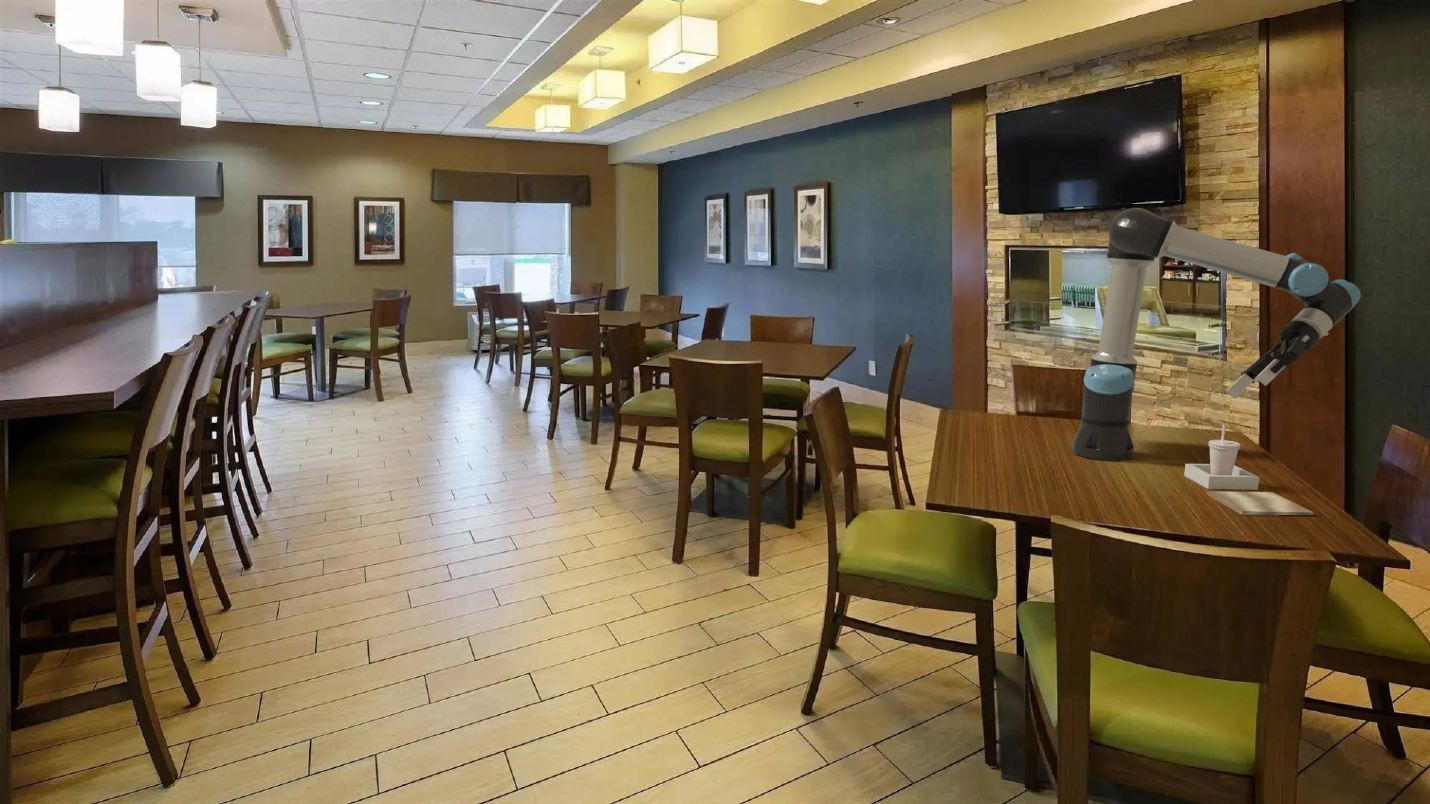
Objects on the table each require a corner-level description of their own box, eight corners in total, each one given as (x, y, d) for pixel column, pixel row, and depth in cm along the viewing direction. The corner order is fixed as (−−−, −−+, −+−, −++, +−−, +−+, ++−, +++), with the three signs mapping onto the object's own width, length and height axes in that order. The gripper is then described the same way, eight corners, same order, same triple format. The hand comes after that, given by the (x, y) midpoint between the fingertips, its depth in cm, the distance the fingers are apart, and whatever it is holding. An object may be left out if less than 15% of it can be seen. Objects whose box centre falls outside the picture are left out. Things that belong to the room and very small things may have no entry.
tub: (1207, 488, 187) (1209, 476, 186) (1184, 475, 197) (1185, 463, 197) (1257, 489, 186) (1259, 477, 185) (1231, 476, 197) (1232, 464, 196)
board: (1242, 514, 169) (1242, 511, 168) (1206, 494, 182) (1207, 491, 182) (1312, 516, 168) (1313, 512, 167) (1271, 495, 181) (1272, 492, 181)
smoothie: (1198, 479, 194) (1204, 422, 192) (1223, 478, 195) (1229, 421, 192) (1216, 486, 188) (1223, 428, 186) (1242, 486, 189) (1249, 427, 186)
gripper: (1351, 325, 186) (1288, 386, 185) (1287, 355, 210) (1231, 409, 209) (1324, 303, 188) (1261, 363, 186) (1263, 335, 212) (1207, 389, 210)
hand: (1245, 388), depth 197 cm, fingers open, 13 cm apart
